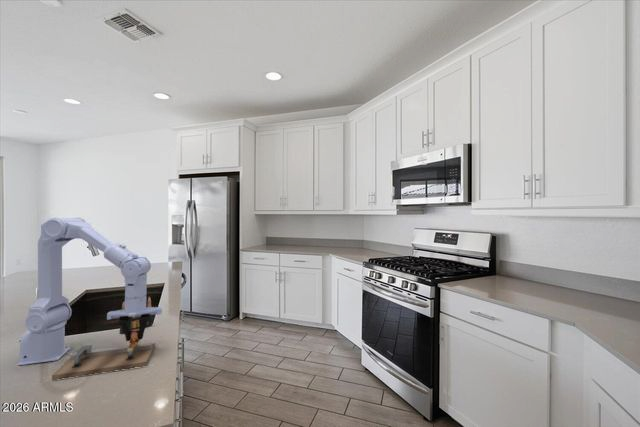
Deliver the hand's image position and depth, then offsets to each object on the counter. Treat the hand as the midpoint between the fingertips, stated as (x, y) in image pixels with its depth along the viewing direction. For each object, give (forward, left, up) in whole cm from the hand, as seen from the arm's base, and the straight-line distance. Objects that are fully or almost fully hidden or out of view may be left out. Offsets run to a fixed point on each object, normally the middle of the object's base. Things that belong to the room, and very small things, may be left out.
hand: (134, 339), depth 89 cm
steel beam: (-6, +1, -4) cm, 7 cm away
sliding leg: (0, -2, -4) cm, 4 cm away
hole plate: (-6, -2, -5) cm, 8 cm away
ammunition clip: (-5, +24, -6) cm, 25 cm away
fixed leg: (-13, -2, -4) cm, 14 cm away
